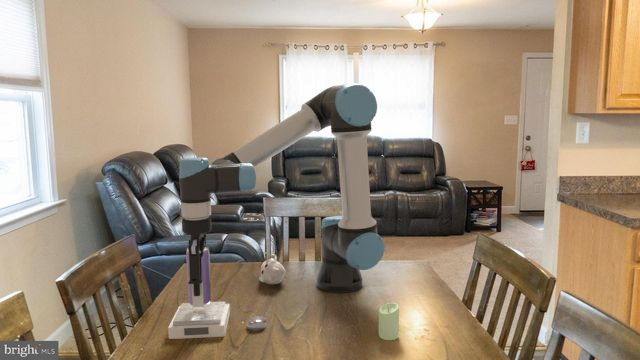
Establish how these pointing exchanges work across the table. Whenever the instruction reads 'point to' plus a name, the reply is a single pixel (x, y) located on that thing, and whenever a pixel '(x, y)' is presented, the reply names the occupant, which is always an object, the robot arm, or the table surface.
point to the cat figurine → (272, 271)
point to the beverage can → (205, 276)
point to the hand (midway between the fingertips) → (200, 301)
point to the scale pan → (199, 314)
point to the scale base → (200, 328)
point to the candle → (389, 321)
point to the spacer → (256, 323)
